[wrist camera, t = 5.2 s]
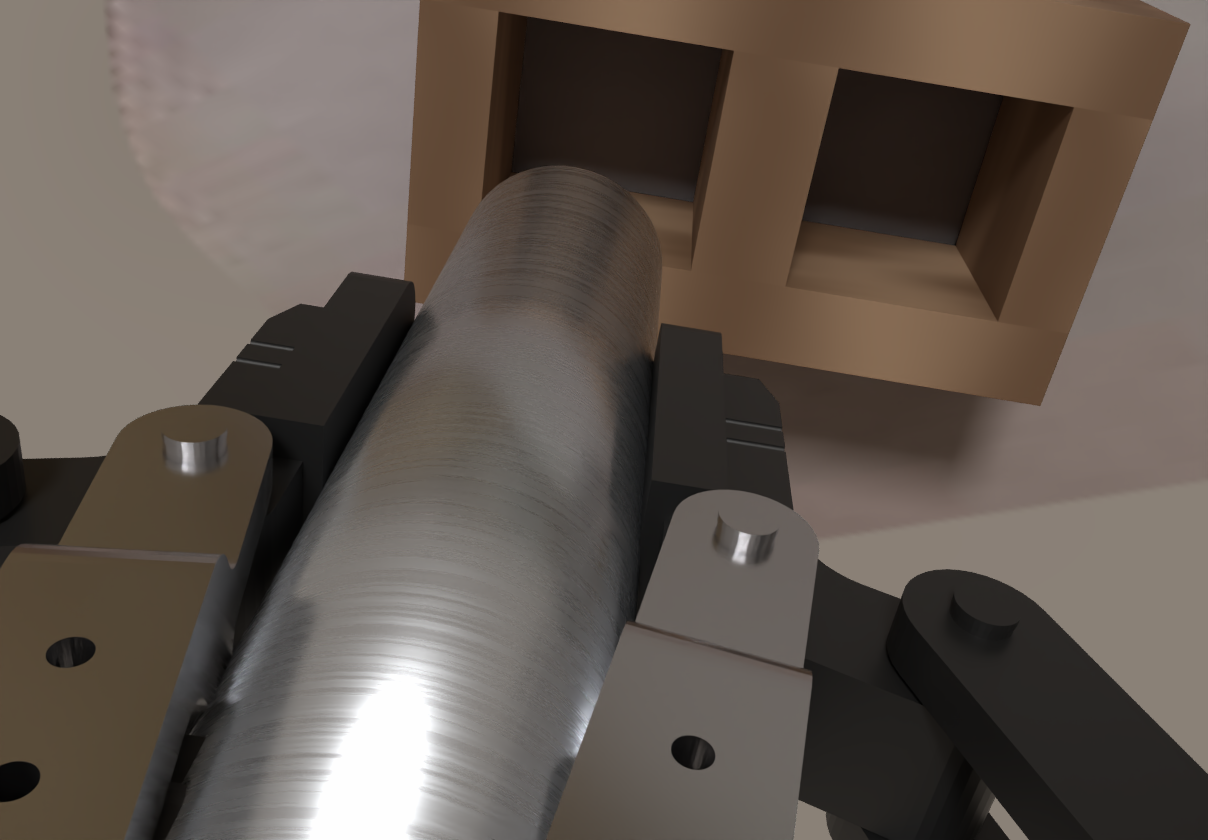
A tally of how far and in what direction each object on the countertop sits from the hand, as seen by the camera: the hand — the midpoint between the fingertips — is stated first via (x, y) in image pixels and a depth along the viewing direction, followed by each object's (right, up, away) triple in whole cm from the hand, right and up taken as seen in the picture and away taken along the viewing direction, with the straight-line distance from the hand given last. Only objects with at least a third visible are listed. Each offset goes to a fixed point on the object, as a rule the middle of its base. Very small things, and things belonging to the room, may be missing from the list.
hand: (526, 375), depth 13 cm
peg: (0, +2, +3) cm, 4 cm away
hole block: (+4, +6, +13) cm, 15 cm away
